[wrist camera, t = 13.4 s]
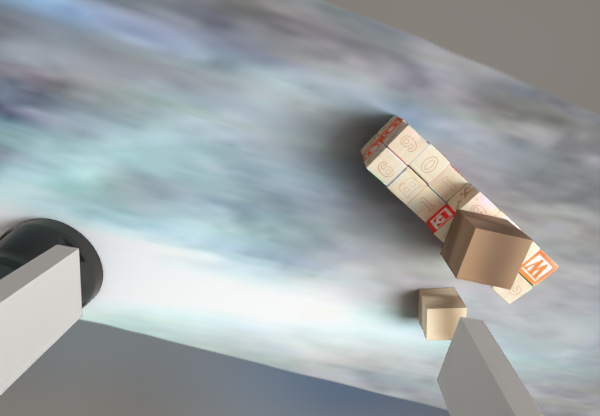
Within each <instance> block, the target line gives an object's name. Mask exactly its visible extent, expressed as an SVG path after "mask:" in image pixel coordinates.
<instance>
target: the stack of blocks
mask: <svg viewBox="0 0 600 416" xmlns="http://www.w3.org/2000/svg"><path fill="white" fill-rule="evenodd" d="M361 154H362V157H363V159H364V164H365V166H366V168H367V169H368V170H369V171H370V172H371V173H372V174H373V175H374V176H375V177H376V178H378V179H379V180H380V181H381V182H382V183H383V184H384V185H386V187H387V188H388V189H389V190H390V191H391V192H392V193H394V194H395V195H396V196H397V197H398V198H399V199H400V200H401V201H402V202H403V203H405V204H406V205H407V206H408V207H409V208H410V209H411V210H412V211H413V212H414V213H415V214H417V215H418V216H419V217H420V218H421V219H422V220H423V221H425V222H426V224H427V226H428V227H429V228H430V230H431V231H432V233H433V234H434V235H435V236H436V237H438V238H439V239H440V240H441V241H442V242H443V243H444V242H445V239H446V237H447V234H448V231H449V229H450V226H451V223H452V220H453V218H454V215H455V212H456V210H457V209H460V210H465V211H470V212H475V213H479V214H484V215H489V216H493V217H498V218H503V219H507V220H508V221H509V222H511V223H512V224H513V225H514V226H516V227H517V228H518V229H519V230H520V228H519V227H518V226H517V225H516V224H515V223H514V222H513V221H512V220H511V219H509V218H508V217H507V216H506V215H505V214H504V213H503V212H502V211H500V210H499V209H498V208H497V207H496V206H495V205H494V204H493V203H492V202H491V201H490V200H489V199H487V198H486V197H485V196H484V195H483V194H482V193H481V192H480V191H478V190H477V189H476V188H475V187H473V186H472V185H471V184H469V183H468V181H466V180H465V179H464V178H463V177H462V176H461V175H460V174H459V173H458V172H457V171H456V170H455V169H454V168H453V167H452V166H451V165H450V162H449V161H448V160H447V159H446V158H445V157H444V156H443V155H442V154H441V153H440V152H439V151H438V150H437V149H436V148H435V147H434V146H432V145H431V144H430V143H429V142H427V141H425V140H424V139H423V138H422V137H421V136H420V135H419V134H418V133H417V132H416V131H415V130H414V129H413V128H412V127H411V126H410V125H409V124H407V123H406V122H405V121H404V120H403V119H401V118H400V117H397V116H396V115H394V116H393V117H392V118H391V119H390V120H389V121H388V122H387V123H386V124H385V125H384V126H383V127H382V128H381V129H380V130H379V131H378V132H377V133H376V134H375V135H374V136H373V137H372V138H371V139H370V140H369V141H368V142H367V143H366V144H365V146H364V147H363V148H362V149H361ZM557 268H558V266H557V265H556V264H555V263H554V262H553V261H552V260H551V259H550V258H549V257H548V256H547V255H546V254H545V253H544V252H543V251H542V250H541V249H540V248H539V247H538V246H537V245H536V244H535V243H534V242H532V244H531V246H530V248H529V250H528V253H527V255H526V257H525V259H524V261H523V264H522V266H521V268H520V270H519V272H518V274H517V277H516V279H515V281H514V283H513V285H512V287H511V290H509V289H504V288H500V287H495V286H491V287H492V288H493V289H494V290H495V291H496V292H497V293H498V294H499V295H500V296H501V297H502V298H503V299H504V300H505V301H506V302H507V303H509V304H511V303H512V302H513V301H515V300H516V299H517V298H519V297H520V296H522V295H523V294H524V293H526V292H527V291H529V290H530V289H532V288H533V287H532V286H533V285H536V284H538V283H539V282H541V281H542V280H543V279H545V278H546V277H547V276H548V275H550V274H551V273H552V272H554V271H555V270H556V269H557Z"/></svg>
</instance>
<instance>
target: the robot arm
mask: <svg viewBox="0 0 600 416" xmlns="http://www.w3.org/2000/svg"><path fill="white" fill-rule="evenodd" d="M102 281H103V269H102V264H101V261H100V258H99V256H98V254H97V252H96V250H95V249H94V247H93V246H92V245H91V243H90V242H89V241H88V240H87V239H86V238H85V237H84V236H83V235H82V234H80V233H79V232H78V231H76V230H75V229H73V228H72V227H70V226H68V225H66V224H64V223H61V222H58V221H55V220H50V219H33V220H29V221H26V222H23V223H21V224H19V225H17V226H15V227H13V228H11V229H9V230H8V231H7V232H5V233H4V234H3V235H2V236H1V237H0V395H1V394H2V393H3V392H4V391H5V390H6V389H7V388H8V387H9V386H10V385H11V384H12V383H13V382H14V381H15V380H16V379H17V378H18V377H20V376H21V375H22V374H23V373H24V371H26V370H27V369H28V368H29V367H30V366H31V365H32V364H33V363H34V362H35V361H36V360H37V359H38V358H39V357H40V356H41V355H42V354H43V353H44V352H45V351H46V350H47V349H48V348H49V347H50V346H51V345H52V344H53V343H54V342H56V340H58V339H59V338H60V337H61V336H62V335H63V334H64V333H65V332H66V331H67V330H68V329H69V328H70V327H71V326H72V325H73V324H74V323H75V322H76V321H77V320H78V319H79V318H80V317H81V316H82V308H83V307H85V306H86V305H87V304H88V303H89V302H90V301H91V300H92V299H93V298H94V297H95V296H96V295H97V294H98V292H99V290H100V288H101V285H102ZM437 381H438V384H439V386H440V389H441V392H442V395H443V398H444V400H445V403H446V406H447V409H448V411H449V414H450V416H543V414H542V412H541V411H540V409H539V408H538V406H537V405H536V403H535V401H534V400H533V398H532V397H531V395H530V394H529V392H528V390H527V389H526V387H525V386H524V384H523V383H522V381H521V380H520V378H519V376H518V375H517V373H516V372H515V370H514V369H513V367H512V365H511V364H510V362H509V361H508V359H507V358H506V356H505V354H504V353H503V351H502V350H501V348H500V347H499V345H498V343H497V342H496V340H495V339H494V337H493V336H492V334H491V333H490V331H489V329H488V328H487V326H486V325H485V323H484V322H483V321H482V320H476V319H471V318H465V317H460V319H459V322H458V324H457V327H456V330H455V333H454V335H453V338H452V341H451V343H450V346H449V349H448V352H447V354H446V357H445V360H444V362H443V365H442V368H441V370H440V373H439V376H438V379H437Z"/></svg>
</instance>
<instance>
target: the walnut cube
mask: <svg viewBox="0 0 600 416" xmlns="http://www.w3.org/2000/svg"><path fill="white" fill-rule="evenodd" d="M532 242H533V240H532V239H531V238H530V237H528V236H527V235H526V234H524V233H523V232H522V231H521V230H519V229H518V228H517V227H516V226H514V225H513V224H512V223H511V222H509V221H508V220H507V219H503V218H498V217H493V216H489V215H484V214H479V213H475V212H470V211H465V210H460V209H457V210H456V212H455V215H454V218H453V220H452V223H451V226H450V229H449V231H448V234H447V237H446V239H445V242H444V245H443V248H442V250H441V253H440V254H441V255H442V257H443V258H444V260H445V262H446V263H447V265H448V266H449V268H450V269H451V271H452V272H453V274H454V276H455V277H456V278H458V279H462V280H467V281H472V282H476V283H481V284H486V285H490V286H495V287H500V288H504V289H509V290H511V287H512V285H513V283H514V281H515V279H516V277H517V274H518V272H519V270H520V268H521V266H522V264H523V261H524V259H525V257H526V255H527V253H528V250H529V248H530V246H531V244H532Z"/></svg>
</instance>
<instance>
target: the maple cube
mask: <svg viewBox="0 0 600 416" xmlns="http://www.w3.org/2000/svg"><path fill="white" fill-rule="evenodd" d="M466 311H467V307H466V306H465V304H464V302H463V301H462V299H461V297H460V296H459V294H458V292H457V291H456V289H455V288H431V289H419V296H418V319H419V322H420V325H421V327H422V330H423V333H424V335H425V338H426V340H452V338H453V335H454V333H455V330H456V327H457V324H458V322H459V319H460V317H465V318H466Z"/></svg>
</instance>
